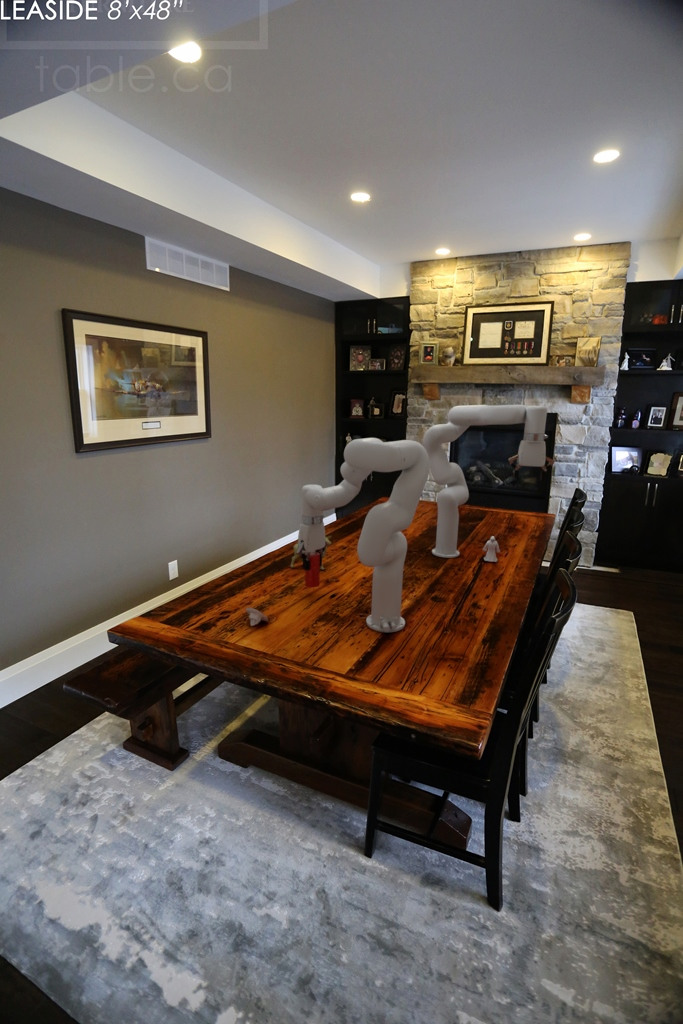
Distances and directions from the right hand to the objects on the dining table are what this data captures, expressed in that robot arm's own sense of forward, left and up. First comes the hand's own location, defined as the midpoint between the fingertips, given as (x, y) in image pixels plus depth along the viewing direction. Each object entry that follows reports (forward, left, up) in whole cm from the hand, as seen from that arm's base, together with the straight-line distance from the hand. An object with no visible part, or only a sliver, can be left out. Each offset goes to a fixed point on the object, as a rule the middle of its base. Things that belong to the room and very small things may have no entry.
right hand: (528, 480), depth 202 cm
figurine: (-13, -10, -40) cm, 43 cm away
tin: (+40, -80, -36) cm, 97 cm away
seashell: (+67, -93, -40) cm, 121 cm away
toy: (+14, -86, -40) cm, 96 cm away
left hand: (+40, -80, -29) cm, 95 cm away
